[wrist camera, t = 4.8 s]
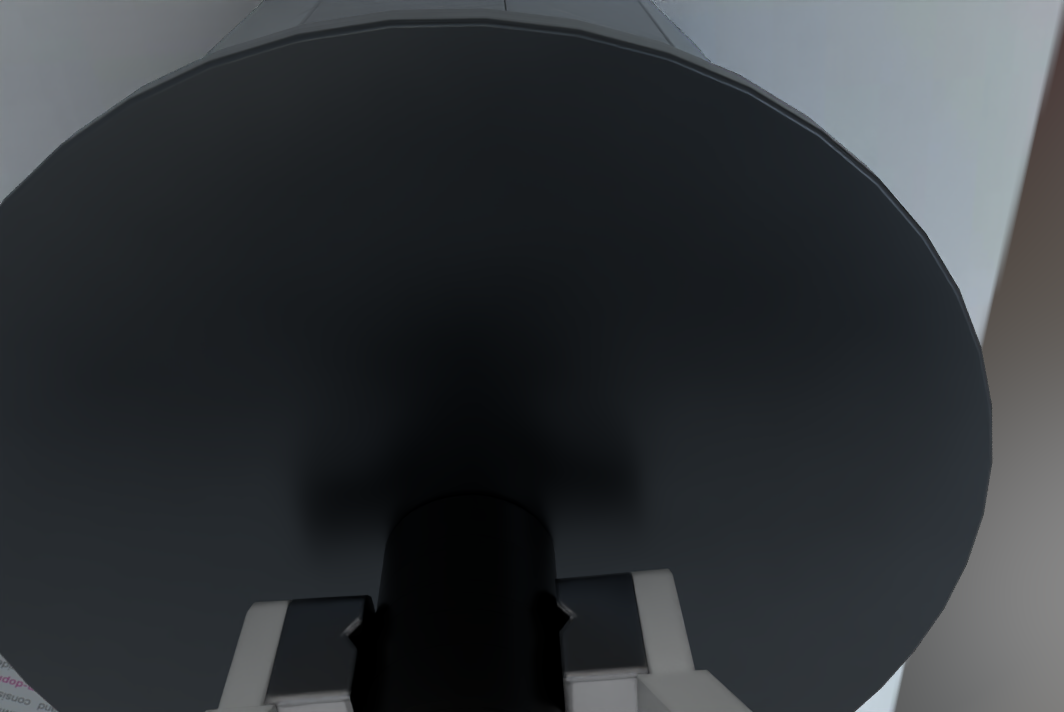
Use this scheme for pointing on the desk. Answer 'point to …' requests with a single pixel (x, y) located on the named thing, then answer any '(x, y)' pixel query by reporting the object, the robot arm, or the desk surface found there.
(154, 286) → the bin lid
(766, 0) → the desk surface
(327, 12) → the trash can
